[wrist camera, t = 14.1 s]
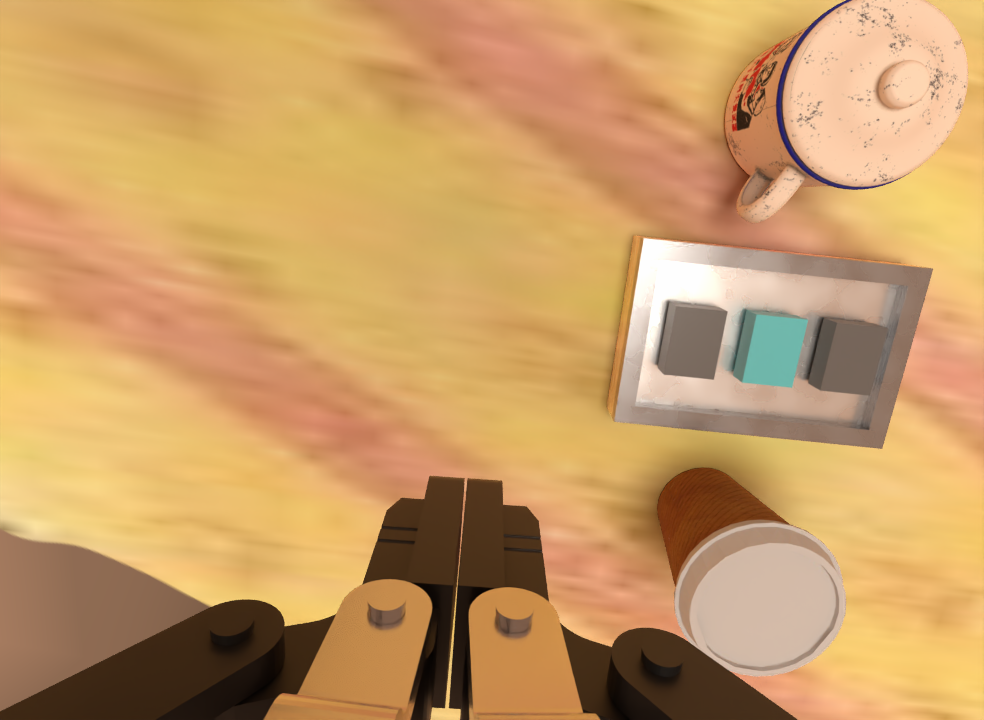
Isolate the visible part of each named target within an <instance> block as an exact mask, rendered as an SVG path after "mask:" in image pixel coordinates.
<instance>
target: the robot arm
mask: <svg viewBox="0 0 984 720" xmlns="http://www.w3.org/2000/svg"><path fill="white" fill-rule="evenodd" d="M464 479H465V478H453V477H439V476H430V477H429V481H428V485H427V490H426V494H425V499H410V498H401V499H400V500H399V501H397V502H396V503H395V504H394V505H393V506H392V507H390V508H389V509H388V510H387V512H386V515H385V518H384V521H383V524H382V529H381V530H380V533H379V536H378V540H377V542H376V545H375V548H374V551H373V554H372V557H371V560H370V563H369V566H368V569H367V572H366V575H365V578H364V581H363V584H362V585H360V586H359V587H357V588H355V589H354V590H352V591H351V592H350V593H349V594H348V595H347V596H346V597H345V598H344V600H343V602H342V603H341V605H340V608H339V610H338V612H337V614H335V615H333V616H331V617H329V618H326V619H322V620H319V621H314V622H310V623H303V624H297V625H291V626H284V619H283V616H282V614H281V612H280V611H279V610H278V609H277V608H275V607H274V606H272V605H271V604H268V603H266V602H262V601H258V600H234V601H229V602H224V603H221V604H218V605H215V606H213V607H210V608H208V609H206V610H204V611H202V612H200V613H198V614H196V615H194V616H192V617H190V618H188V619H186V620H184V621H182V622H180V623H178V624H176V625H174V626H172V627H170V628H168V629H166V630H164V631H162V632H160V633H158V634H156V635H154V636H152V637H150V638H148V639H146V640H144V641H142V642H140V643H137V644H135V645H133V646H131V647H130V648H127V649H126V650H123V651H122V652H119V653H117V654H115V655H113V656H111V657H109V658H107V659H105V660H103V661H101V662H99V663H97V664H95V665H93V666H91V667H89V668H87V669H85V670H83V671H81V672H79V673H77V674H75V675H73V676H71V677H69V678H67V679H65V680H63V681H61V682H59V683H57V684H55V685H53V686H51V687H49V688H47V689H45V690H43V691H41V692H39V693H37V694H35V695H33V696H31V697H29V698H27V699H25V700H23V701H21V702H19V703H16V704H14V705H13V706H11V707H9V708H6V709H5V710H2V711H0V720H430V719H431V711H432V707H434V708H445V702H446V691H447V681H448V670H449V660H450V649H451V639H452V629H453V618H454V608H455V597H456V587H457V576H458V565H459V552H460V538H461V524H462V510H463V495H464ZM540 537H541V536H540V529H539V521H538V520H537V519H536V517H535V516H534V515H533V514H532V513H531V511H530V510H529V509H528V508H527V507H525V506H510V505H503V487H502V481H497V480H483V479H469V478H468V480H467V491H466V501H465V512H464V523H463V534H462V544H461V555H460V566H459V577H458V588H457V602H456V616H455V630H454V645H453V659H452V673H451V687H450V702H449V708H453V709H461V717H460V720H797V719H796V718H795V717H793V716H792V715H790V714H789V713H788V712H786V711H785V710H783V709H782V708H781V707H779V706H778V705H776V704H775V703H774V702H772V701H771V700H769V699H768V698H767V697H765V696H764V695H762V694H761V693H760V692H758V691H757V690H755V689H754V688H753V687H751V686H750V685H748V684H747V683H746V682H744V681H743V680H741V679H740V678H739V677H737V676H736V675H734V674H733V673H732V672H730V671H729V670H727V669H726V668H725V667H723V666H722V665H720V664H719V663H718V662H716V661H715V660H713V659H712V658H711V657H709V656H708V655H706V654H705V653H703V652H702V651H701V650H699V649H698V648H696V647H695V646H694V645H692V644H691V643H689V642H688V641H686V640H685V639H683V638H681V637H679V636H677V635H675V634H673V633H670V632H667V631H664V630H660V629H654V628H636V629H632V630H628V631H626V632H624V633H622V634H621V635H620V636H618V638H617V639H616V640H615V641H614V644H613V646H612V647H609V646H606V645H603V644H600V643H597V642H593V641H590V640H588V639H585V638H582V637H580V636H578V635H576V634H574V633H573V632H571V631H570V630H568V629H567V628H566V627H564V626H563V625H562V624H561V623H560V621H559V617H558V614H557V612H556V610H555V608H554V607H553V606H552V605H551V604H550V602H549V599H548V591H547V583H546V575H545V568H544V560H543V553H542V544H541V540H540Z"/></svg>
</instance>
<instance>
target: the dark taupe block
mask: <svg viewBox="0 0 984 720" xmlns="http://www.w3.org/2000/svg"><path fill="white" fill-rule="evenodd" d="M887 331H888V328H887V327H884V326H881V325H878V324H875V323H868V322H858V321H849V320H839V319H830V318H824V319H823V324H822V328H821V332H820V336H819V340H818V344H817V348H816V352H815V356H814V361H813V365H812V369H811V373H810V377H809V381H808V384H810V385H812V386H813V387H815V388H817V389H818V390H820V391H829V392H839V393H848V394H858V395H868V396H870V394H871V390H872V386H873V383H874V379H875V375H876V372H877V368H878V364H879V361H880V357H881V353H882V350H883V346H884V342H885V339H886V335H887Z"/></svg>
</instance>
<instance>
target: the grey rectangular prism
mask: <svg viewBox="0 0 984 720" xmlns="http://www.w3.org/2000/svg"><path fill="white" fill-rule="evenodd" d="M727 313H728V311H726V310H724V309H722V308H720V307H714V306H704V305H695V304H685V303H676V302H669V306H668V312H667V317H666V323H665V329H664V334H663V340H662V345H661V351H660V357H659V362H658V369H659V370H660V371H661V372H662V373H663V374H664V375H672V376H682V377H692V378H702V379H711V380H714V377H715V372H716V367H717V362H718V357H719V352H720V347H721V342H722V337H723V332H724V328H725V323H726V318H727Z"/></svg>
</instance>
